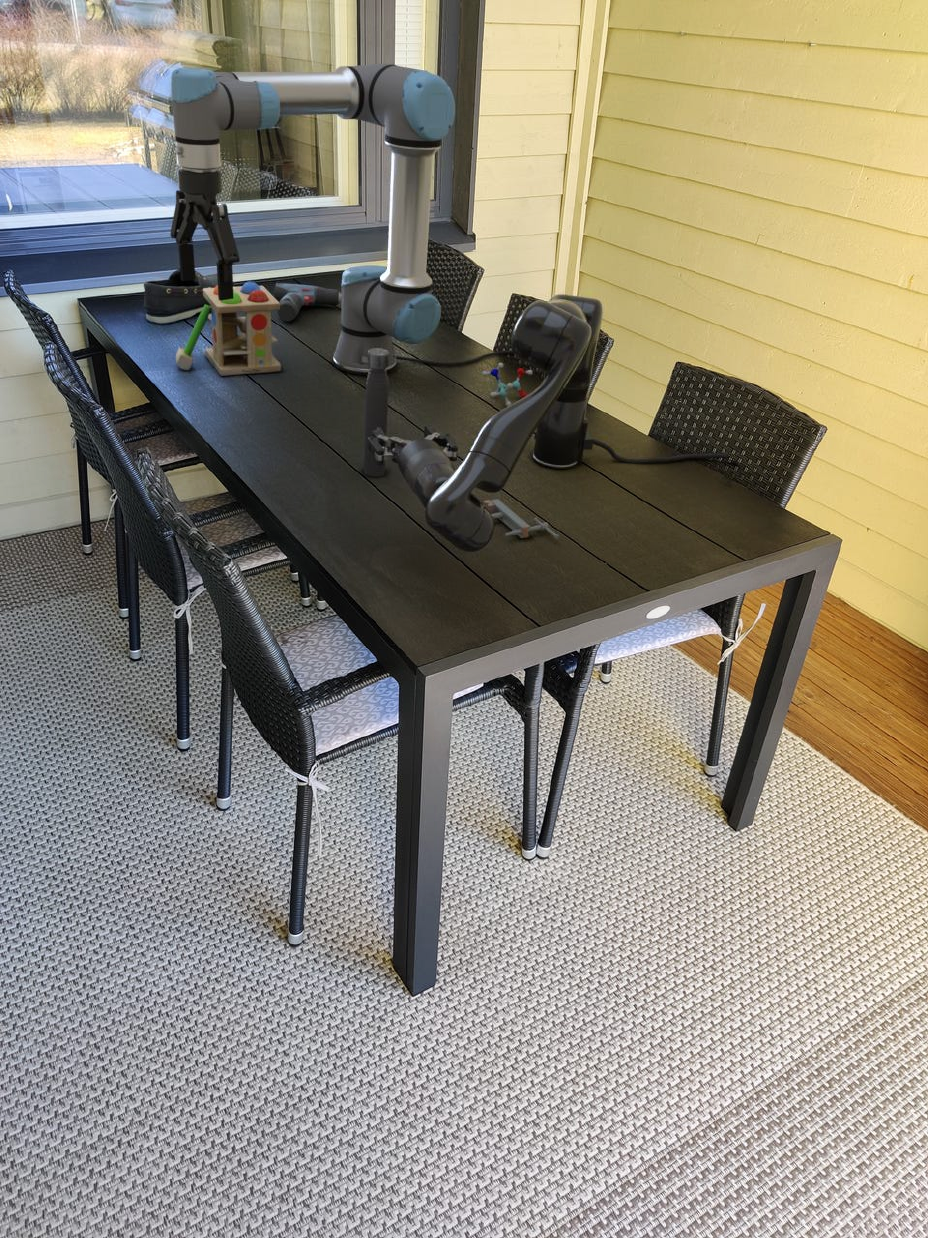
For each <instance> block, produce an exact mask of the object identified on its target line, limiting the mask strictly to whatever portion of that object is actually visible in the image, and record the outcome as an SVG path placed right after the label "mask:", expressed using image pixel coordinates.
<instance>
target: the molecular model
mask: <svg viewBox="0 0 928 1238" xmlns="http://www.w3.org/2000/svg"><path fill="white" fill-rule="evenodd" d="M503 367H504V363H503V362H499V363H498V364H497V367H496V368H493V369H491V370H490V371H487V370H483V371H482V373H481V375H482V377H487V376H490V375H491V376H492V377H494V378H495V379H496V381H497V384H498V385H497V390H496V391H491V392H490V393H489V396H490V398H497V397H498V396H499V397H501V398H503V399H504V400H505V406H506V407H508V406H510V405H511V404H512V402H511V401H510V400H509V399H508V397H507V396H508V391H509V390H510V389H512V388H513V389H514V390H516V391H517V393H518V394H519V397H520V398H521V399H522V398H524V397H526V396H527V395H528V394H527V393H526V392H525V391H524V390H523V388H521V383H520V379H521V377H522V376H523V375H525V374H527V375H528V376H532V375H533V374H534V373H533V372H534V371H533V370H532V369H528V370H524V368H522V367H521V368H518V369H517V370H516V371H517V372H516V373H517V374H518V375H517V377H516V380H514V381H513V382H508V383H507V384H505V383H503V382H501V379H500V377H499V371H500V369H502V368H503Z"/></svg>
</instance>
